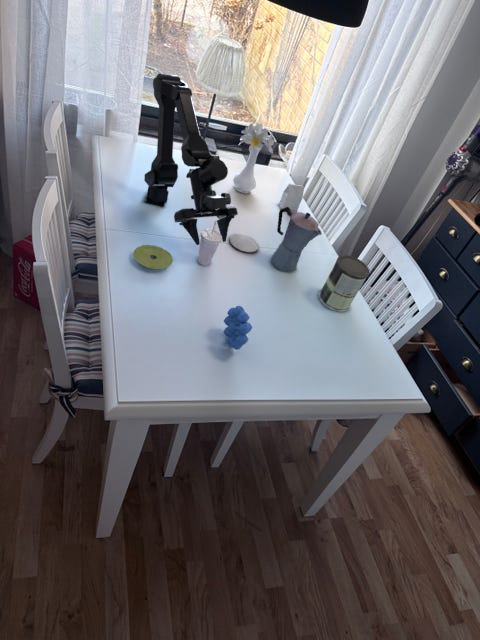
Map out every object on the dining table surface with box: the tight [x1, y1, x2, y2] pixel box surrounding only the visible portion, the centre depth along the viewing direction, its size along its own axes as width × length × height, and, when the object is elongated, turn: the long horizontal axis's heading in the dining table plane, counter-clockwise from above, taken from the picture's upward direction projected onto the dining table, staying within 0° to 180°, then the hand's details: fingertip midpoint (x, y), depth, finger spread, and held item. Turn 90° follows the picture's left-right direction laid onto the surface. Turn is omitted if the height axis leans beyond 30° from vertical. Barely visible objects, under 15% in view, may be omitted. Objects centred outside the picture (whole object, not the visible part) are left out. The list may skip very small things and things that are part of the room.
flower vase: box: [232, 122, 275, 194], centre depth 181 cm, size 13×18×25 cm
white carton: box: [278, 183, 306, 212], centre depth 185 cm, size 4×7×10 cm, turn 107°
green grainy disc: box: [132, 244, 174, 270], centre depth 137 cm, size 11×11×2 cm
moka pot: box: [270, 207, 322, 273], centre depth 151 cm, size 10×15×20 cm, turn 58°
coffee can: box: [318, 254, 370, 313], centre depth 145 cm, size 10×10×14 cm
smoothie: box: [197, 220, 223, 266], centre depth 140 cm, size 6×6×14 cm
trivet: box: [228, 233, 259, 254], centre depth 158 cm, size 10×10×1 cm
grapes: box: [222, 305, 253, 350], centre depth 118 cm, size 12×7×12 cm, turn 18°
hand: (211, 243), depth 140 cm, fingers open, 9 cm apart
